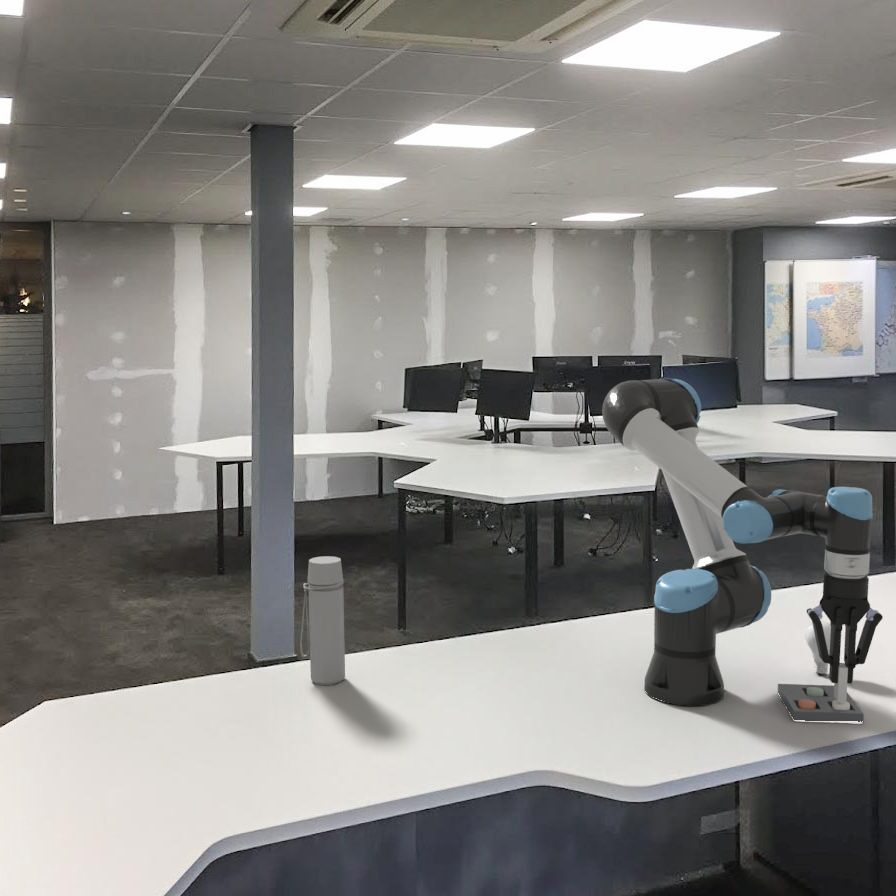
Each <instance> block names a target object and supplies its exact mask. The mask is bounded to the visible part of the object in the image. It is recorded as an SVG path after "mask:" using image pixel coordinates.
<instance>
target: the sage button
mask: <svg viewBox="0 0 896 896" xmlns="http://www.w3.org/2000/svg"><path fill="white" fill-rule="evenodd" d="M823 695H824V690H823V689H821V688H818V687H808V688H807V696H823Z"/></svg>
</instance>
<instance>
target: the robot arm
mask: <svg viewBox="0 0 896 896" xmlns="http://www.w3.org/2000/svg"><path fill="white" fill-rule="evenodd" d="M601 413H602V420H603V422H604V426H605V428H606V429H607V430H608V432H609V433H610V435H611V436H613V438H615V440H616V441H618V442H619V443H620V444H621V445H622V446H623V447H625V448H626V449H628V450H629V451H635V450H637V451H638V452H640V454H642V455H643V456H644V457H645V458H646V459H648V460H649V461H650V462H652V463H653V464H654V465H655V466H657V467H658V468H659V469H660V470H661V472H662V474H663V477H664V480H665V483H666V486H667V489H668V491H669V494H670V497H671V501H672V502H673V506H674V508H675V510H676V513H677V515H678V519H679V521H680V525H681V529H682V530H683V533H684V535H685V539H686V541H687V544H688V546H689V549H690V552H691V555H692V559H693V560H694V561H693V563H694V564H693V565H692V568H686V569H675V570H672V571H668V572H666V573H664V574H663V575H661V576H660V577H659V578H658V580H657V581H656V583H655V593H654V596H653V598H654V599H653V603H654V619H653V621H654V624H653V625H654V631H653V633H654V636H653V637H654V638H653V640H654V642H653V645H654V647H653V654H652V656H651V659H650V662H649V666H648V668H647V671H646V673H645V676H644V684H643V685H644V689H645V690H644V689H643V690H644V692H645V691H646V692H647V693H648V694H649V695H650V696H652V697H654V698H657V699H659V700H662V701H665V702H669V703H672V704H671V705H675V704H678V705H677V706H683V705H686V707H687V706H688V707H698V706H699V707H700V706H701V707H702V706H708V704H709V705H712V704H713V705H714V704H715V703H718V702H720V701H721V700H722V699H723V698H724V696H725V683H724V680H723V675H722V673H721V670H720V667H719V664H718V663H719V662H718V660H717V657H716V652H717V651H716V649H717V648H716V647H717V646H716V645H717V641H716V640H717V635H718V634H722V633H725V632H727V631H731V630H735V629H738V628H745V627H746V626H750V625H752V624H753V623H757V622H758V621H760V620H761V619H762V618H764V616H765V615H766V614H767V612H768V610H769V608H770V605H771V603H772V602H771V601H772V589H771V583H770V582H769V578H768V577H767V576H766V574H765V573H764V572H763V571H762V570H760V569H759V568H758V567H757V566H753V565H751V564H750V561H749V559H748V557H747V554H746V553H745V552H743V551H741V550H740V549H737V547H736V546H735V544H734V542H735V543H737V544H743V545H745V544H757V543H763V542H764V541H768V540H773V539H776V538H783V537H787V536H792V535H798V534H805V535H809V536H810V535H811V536H816V537H820V538H824V540H825V541H824V544H825V545H824V546H825V547H824V548H825V549H824V561H823V562H824V564H823V565H824V566H823V569H824V570H825V573H824V574H823V584H822V587H823V588H822V598H821V599H820V601H819V605H817V606H815V607H813V608H810V607H809V608H807V609H806V614H807V616H808V617H809V618H810V619H811V623H812V624H813V628H814V633H815V638H816V643H817V647H818V652H819V656H820V658H821V659H822V661H823V662H824V663H828V665H829V669H828V673H829V674H828V675H829V676H828V678H829V681H830V682H831V684H833V686H834V698H835V699H836V701H837V702H843V703H846V696H847V693H848V684H849V685H851V684H853V682H854V681H853V680H854V669H855V668H856V666H857V665H863V664H865V663H866V659H867V658H868V657H867V656H868V653H869V650H870V647H871V645H872V640H873V638H874V634H875V632H876V629H877V626H878V625H879V624H880V622H881V621H882V620H883V617H884V616H883V614H881V613H880V612H879V611H878V610H876V609H875V610H874V609H873V608H872V607H871V604H870V602H869V599H868V596H869V595H868V594H869V579H870V578H869V577H868V575H869V573H870V561H871V559H870V558H871V537H872V536H871V535H872V520H873V517H874V513H873V496H872V494H871V492H870V491H869V490H868V489H865V488H860V487H854V486H853V487H851V486H850V487H849V486H835V487H830V488H829V490H828V491H827V493H826V494H827V495H821V494H816V493H808V492H802V491H798V490H795V489H789V490H788V489H775V490H773V491H772V493H771V494H769V495H768V496H767V497H766V496H765V497H763V496H761V495H760V494H758V493H757V492H756V491H754V490H753V489H752V488H751V487H749V486H748V485H746V484H745V483H744V482H743V481H741V480H740V479H738V478H737V477H736V476H734V475H733V474H732V473H730V472H729V471H728V470H727V469H726V468H724V467H723V466H721V464H719V463H717V462H716V461H715V460H714V459H712V458H711V457H710V456H709V455H707V454H705V452H703V451H702V450H701V449H700V448H699V447H698V444H697V442H696V439H697V436H698V435H699V432H700V429H699V426H698V423H699V421H700V419H701V415H700V414H701V413H702V404H701V399H700V398H699V395H698V393H697V391H696V390H695V389H694V387H692V385H691V384H689V383H687V382H686V381H684V380H681V379H678V378H671V377H669V378H668V377H661V378H658V379H657V378H655V379H641V380H636V379H634V380H632V379H631V380H625V381H623V382H620V383H618V384H616V385H615V386H613V388H611V389H610V390H609V391H608V393H607V394H606V396H605V398H604V400H603V403H602V410H601ZM823 613H824V614H825V615H826V617H827V618H828V620H829V621H830V622H829V624H830V625H831V635H830V654H829V655H828V650H827V645H826V640H825V636H824V631H823V626H822V623H821V621H822V619H823ZM864 616H865V622H864V624H863V628H862V630H861V634H860V636H859V637H860V638H859V641H858V643H856V642H857V631H858V623H860V622H861V620H863V617H864ZM843 626H845V628H844V629H845V630H844V631H845V632H844V648H843V649H844V650H843V651H844V652H843V653H844V654H843V656H844V657H843V661H844V662H841V661H840V659H841V645H842V644H841V643H842V631H843ZM856 644H857V646H856ZM646 692H645V693H646ZM647 693H646V694H647ZM648 694H647V695H648ZM649 695H648V696H649ZM650 696H649V697H650ZM652 697H651V698H652ZM654 698H653V699H654ZM659 700H658V701H659ZM662 701H661V702H662ZM665 702H664V703H665ZM669 703H668V704H669Z"/></svg>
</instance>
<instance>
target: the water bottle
mask: <svg viewBox="0 0 896 896" xmlns="http://www.w3.org/2000/svg"><path fill="white" fill-rule="evenodd" d="M342 566H343V565H342V560H341V558H340V557H337V556H329V555H328V556H327V555H326V556H325V555H324V556H317V557H316V556H315V557H312V558H310V559H308V570H307V572H308V573H307V583H306V582H304V583H303V584H302V586H303V591H304V596H303V606H302V617H301V618H302V619H301V629H300V640H299V646H300V647H299V648H300V654H301V657H303V658H306V657H308V655H309V654H310V655H309V656H310V658H309V660H310V664H309V666H310V680H311V681H312V683H315V684H317V685H324V686H328V685H330V686H331V685H334V684H335V685H336V684H339V683H341V682H342V681H343V680H344V679H345V678H346V657H345V655H346V654H345V653H346V651H345V649H346V648H345V608H344V607H345V606H344V604H345V603H344V602H345V601H344V581H345V580H344V577H343V576H344V575H343V567H342ZM307 591H308V596H307ZM305 611H306V612H305ZM305 614H306V616H304V615H305ZM305 617H306V635H307V636H306V637H307V653H306V654H304V651H303V644H302V641H303V629H304V619H305Z"/></svg>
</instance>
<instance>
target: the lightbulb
mask: <svg viewBox="0 0 896 896" xmlns="http://www.w3.org/2000/svg"><path fill="white" fill-rule="evenodd" d="M820 621H821V623H822V626H823V631H824V636H825V640H826V645H827V650H828V655H829V654H830V635H831V625H830V622H827V621H822V620H820ZM805 631H806V632H805V641H806V644H807V646H808V648H810V650H811V653H812V658H813V672H815V673H816V674H817V673H819V674H823V675H826V674H827V673H829V664H828V663H824V662H823V661H822V659H821V658H820V656H819V652H818V647H817V643H816V638H815V633H814V628H813V624H810V625H809V626H808V628H807V629H806V630H805ZM819 674H818V675H819Z"/></svg>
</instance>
